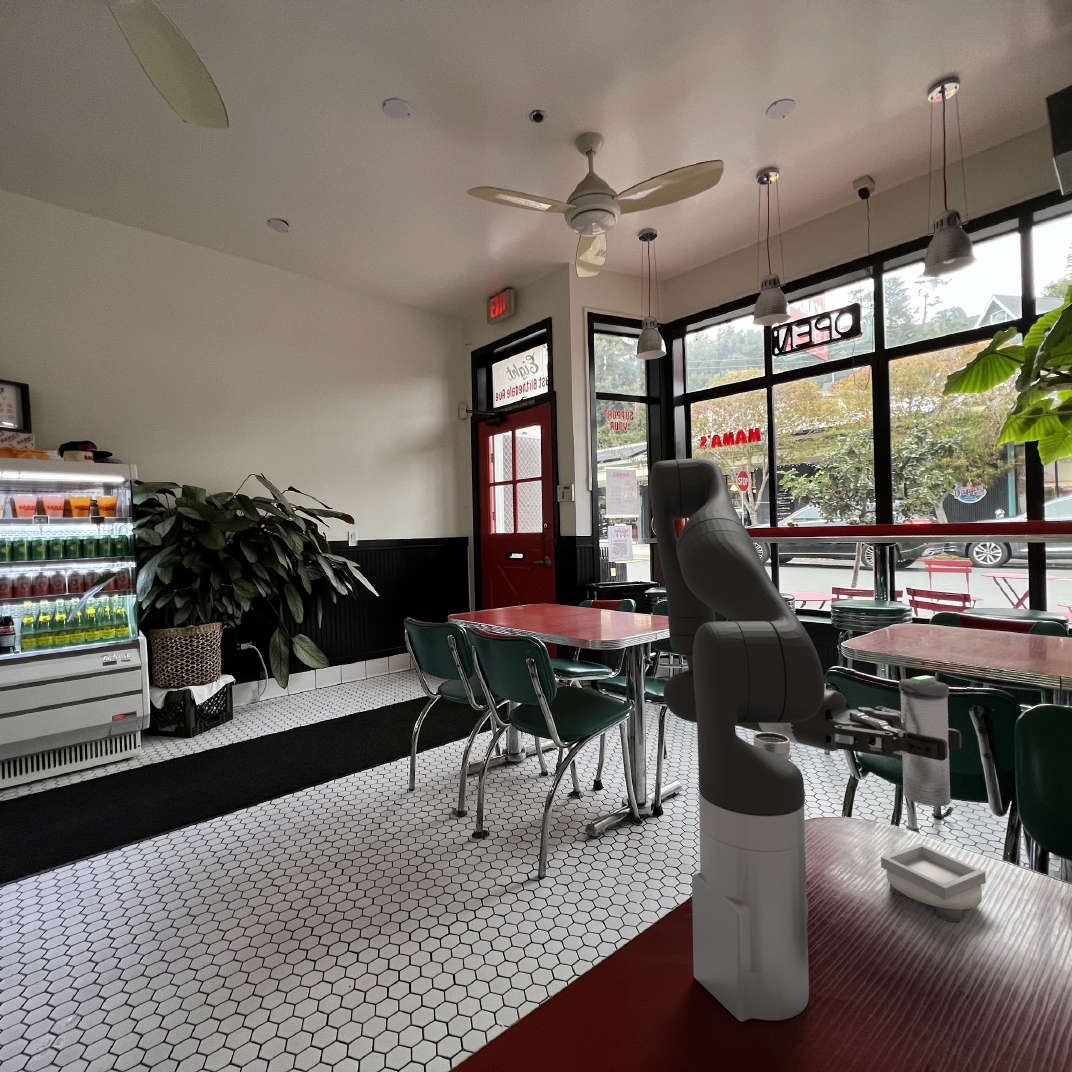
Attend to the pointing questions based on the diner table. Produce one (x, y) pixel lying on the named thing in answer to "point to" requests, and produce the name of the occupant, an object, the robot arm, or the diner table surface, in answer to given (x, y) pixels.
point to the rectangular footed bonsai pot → (934, 880)
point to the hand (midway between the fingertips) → (952, 745)
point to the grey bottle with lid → (930, 718)
